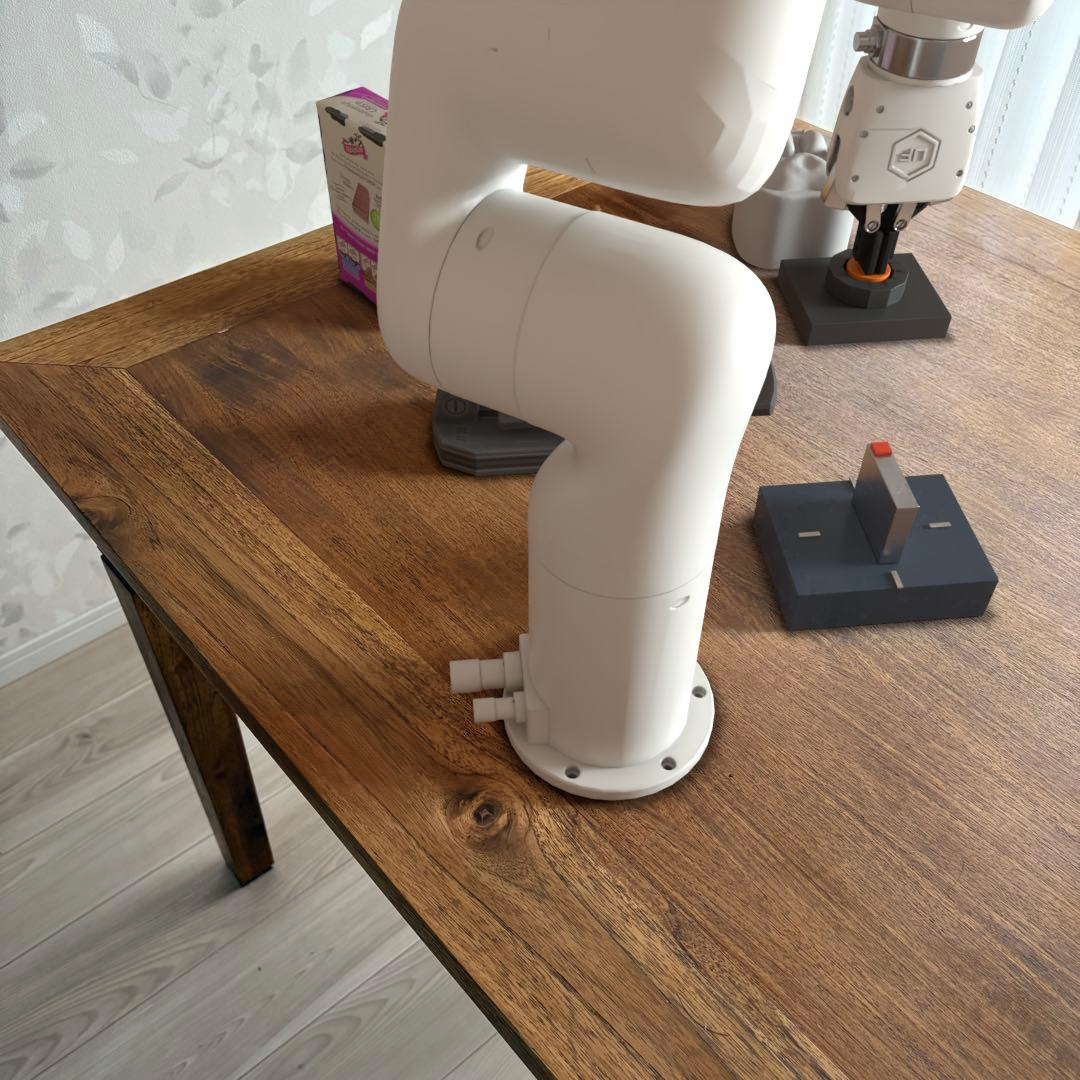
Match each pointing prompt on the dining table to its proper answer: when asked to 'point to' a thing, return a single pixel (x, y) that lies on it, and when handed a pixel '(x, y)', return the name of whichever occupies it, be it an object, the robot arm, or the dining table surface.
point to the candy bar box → (355, 180)
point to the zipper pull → (514, 434)
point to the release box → (861, 301)
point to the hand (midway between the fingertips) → (869, 265)
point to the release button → (858, 274)
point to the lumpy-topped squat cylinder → (792, 209)
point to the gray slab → (884, 503)
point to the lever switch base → (869, 558)
